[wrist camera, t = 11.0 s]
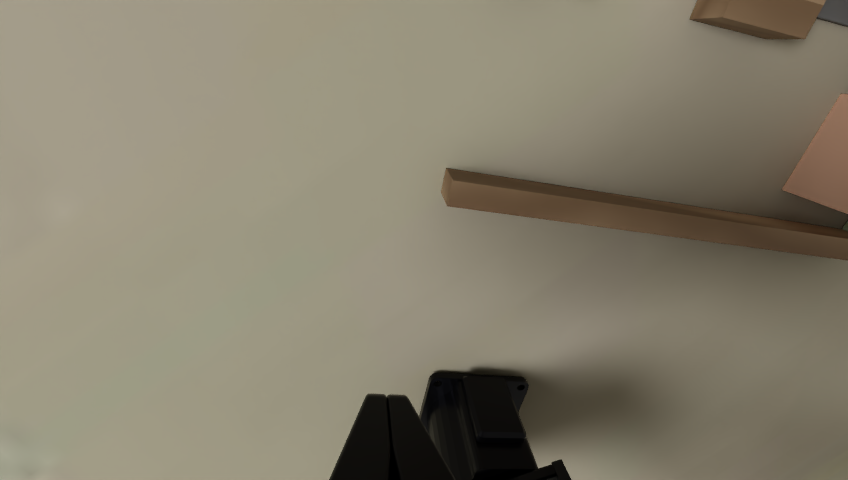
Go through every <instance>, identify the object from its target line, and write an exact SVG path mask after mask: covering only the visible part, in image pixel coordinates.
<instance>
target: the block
mask: <svg viewBox="0 0 848 480" xmlns="http://www.w3.org/2000/svg"><path fill="white" fill-rule="evenodd" d="M782 190H784V191H787V192H789V193H792V194H795V195H797V196H800V197H803V198H805V199H808V200H811V201H814V202H816V203H819V204H822V205H824V206H827V207H830V208H832V209H835V210H838V211H840V212H843V213H846V214H848V94H840V96H839V98H838V99H837V101H836V102H835V104H834V106H833V107H832V109H831V111H830V112H829V114H828V115H827V117H826V119H825V120H824V122H823V123H822V125H821V127H820V128H819V130H818V132H817V133H816V135H815V136H814V138H813V140H812V141H811V143H810V145H809V146H808V148H807V149H806V151H805V153H804V154H803V156H802V158H801V159H800V161H799V162H798V164H797V166H796V167H795V169H794V171H793V172H792V174H791V175H790V177H789V179H788V180H787V182H786V183H785V185H784V187H783V188H782Z"/></svg>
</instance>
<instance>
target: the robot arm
mask: <svg viewBox="0 0 848 480" xmlns="http://www.w3.org/2000/svg"><path fill="white" fill-rule="evenodd" d="M436 381H438V382H436ZM527 390H528V383H527V381H526V379H525V378H523V377H509V376H490V375H471V374H452V373H434V374H432V375H431V376H430V378H429V381H428V384H427V388H426V392H425V396H424V400H423V404H422V407H421V411H420V415H419V416H418V414H417V413H416V411H415V409H414V407H413V406H412V404H411V402H410V401H409V399H408V397H407V396H405V395H391V394H390V395H388V396H387V397H386V395H384V394H367V396H366V397H365V399H364V402H363V404H362V406H361V408H360V411H359V413H358V415H357V418H356V420H355V422H354V424H353V427H352V429H351V431H350V434H349V436H348V438H347V440H346V443H345V445H344V447H343V450H342V452H341V454H340V456H339V459H338V461H337V463H336V466H335V468H334V470H333V472H332V475H331V477H330V479H329V480H571V478H570V476H569V474H568V472H567V470H566V468H565V466H564V464H563V462H562V460H557V461H554V462H552V465H548V466H545V467H542V468H539V469H538V466H537V464H536V461H535V459H534V456H533V453H532V451H531V448H530V446H529V443H528V440H527V438H526V432H525V429H524V427H523V424H522V422H521V419H520V416H519V414H518V411H519V409H520V406H521V404H522V402H523V399H524V397H525V395H526V392H527Z"/></svg>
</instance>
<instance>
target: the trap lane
mask: <svg viewBox="0 0 848 480" xmlns="http://www.w3.org/2000/svg"><path fill="white" fill-rule="evenodd" d="M816 18H818V19H822V20H825V21H829V22H833V23H836V24H840V25H843V26H847V27H848V0H697V3H696V5H695V7H694V10H693V12H692V14H691V17H690V19H691V20H694V21H698V22H702V23H706V24H710V25H714V26H718V27H722V28H726V29H729V30H733V31H737V32H741V33H745V34H749V35H753V36H757V37H760V38H764V39H805V38H806V36H807V34H808V33H809V31H810V29H811V27H812V25H813V24H814V22H815V20H816ZM441 193H442V195H443V198H444V200H445V202H446V204H447V206H450V207H458V208H465V209H472V210H480V211H487V212H495V213H502V214H509V215H517V216H524V217H532V218H539V219H546V220H554V221H561V222H569V223H576V224H583V225H591V226H598V227H606V228H613V229H620V230H628V231H635V232H642V233H650V234H657V235H665V236H672V237H679V238H687V239H694V240H702V241H709V242H716V243H724V244H731V245H739V246H746V247H753V248H761V249H768V250H775V251H783V252H790V253H798V254H805V255H812V256H820V257H827V258H835V259H842V260H848V221H847V222H846V224H845V225H844V227H843V228H842V229H838V228H832V227H825V226H819V225H812V224H806V223H799V222H793V221H786V220H780V219H773V218H767V217H760V216H754V215H747V214H741V213H734V212H728V211H721V210H715V209H708V208H702V207H695V206H689V205H682V204H676V203H669V202H663V201H656V200H650V199H643V198H637V197H630V196H624V195H617V194H611V193H604V192H598V191H591V190H585V189H578V188H572V187H565V186H559V185H552V184H546V183H539V182H533V181H526V180H520V179H513V178H507V177H500V176H494V175H487V174H481V173H474V172H468V171H461V170H455V169H448V168H446V172H445V176H444V181H443V185H442V190H441Z"/></svg>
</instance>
